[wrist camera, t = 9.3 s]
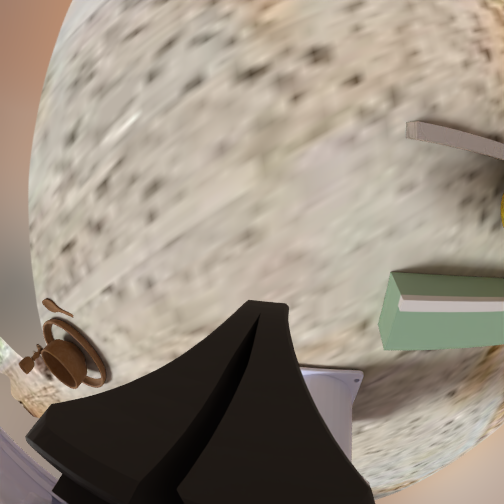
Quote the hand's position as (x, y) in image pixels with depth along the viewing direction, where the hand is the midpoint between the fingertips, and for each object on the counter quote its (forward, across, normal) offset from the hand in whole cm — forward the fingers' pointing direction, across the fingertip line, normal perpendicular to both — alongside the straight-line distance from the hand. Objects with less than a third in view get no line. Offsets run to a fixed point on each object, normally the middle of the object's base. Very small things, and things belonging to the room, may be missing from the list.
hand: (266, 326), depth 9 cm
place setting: (+11, +33, +19) cm, 39 cm away
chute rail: (+10, -15, -7) cm, 19 cm away
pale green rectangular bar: (+10, -15, +5) cm, 19 cm away
